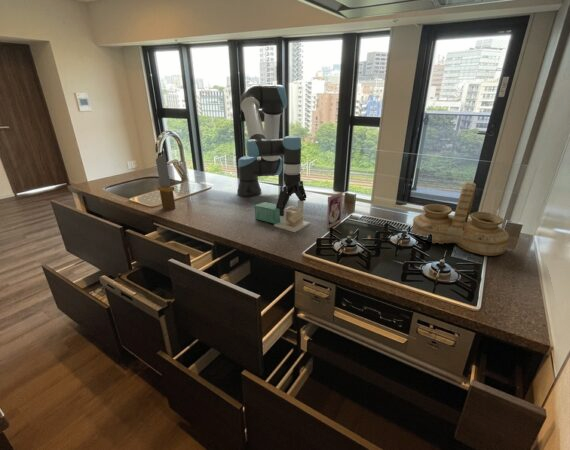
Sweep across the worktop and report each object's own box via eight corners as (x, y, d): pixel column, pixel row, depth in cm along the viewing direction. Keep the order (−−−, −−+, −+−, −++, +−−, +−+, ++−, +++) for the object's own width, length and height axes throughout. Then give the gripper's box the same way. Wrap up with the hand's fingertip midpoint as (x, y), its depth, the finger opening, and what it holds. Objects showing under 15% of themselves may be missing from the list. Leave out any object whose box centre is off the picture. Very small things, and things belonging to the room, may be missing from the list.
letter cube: (302, 222, 140) (302, 208, 138) (294, 227, 135) (294, 213, 132) (290, 219, 144) (290, 205, 142) (281, 224, 139) (281, 210, 136)
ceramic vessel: (405, 240, 124) (414, 181, 115) (416, 226, 138) (425, 173, 129) (503, 263, 106) (524, 196, 96) (505, 244, 120) (523, 184, 110)
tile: (289, 218, 148) (289, 217, 148) (309, 224, 141) (309, 222, 141) (274, 226, 139) (274, 224, 139) (294, 232, 132) (294, 230, 132)
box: (275, 224, 139) (274, 209, 136) (255, 219, 147) (253, 205, 144) (285, 220, 144) (284, 205, 141) (265, 215, 152) (264, 201, 150)
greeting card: (328, 229, 135) (330, 197, 129) (315, 225, 140) (316, 194, 134) (342, 222, 143) (344, 192, 137) (329, 218, 148) (330, 189, 142)
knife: (177, 208, 164) (168, 153, 152) (171, 210, 161) (162, 154, 149) (166, 206, 167) (157, 151, 156) (161, 208, 164) (151, 152, 153)
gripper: (301, 166, 142) (300, 208, 150) (267, 177, 124) (268, 224, 132) (314, 168, 137) (313, 211, 146) (281, 179, 119) (281, 228, 128)
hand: (292, 217), depth 139 cm, fingers open, 13 cm apart
